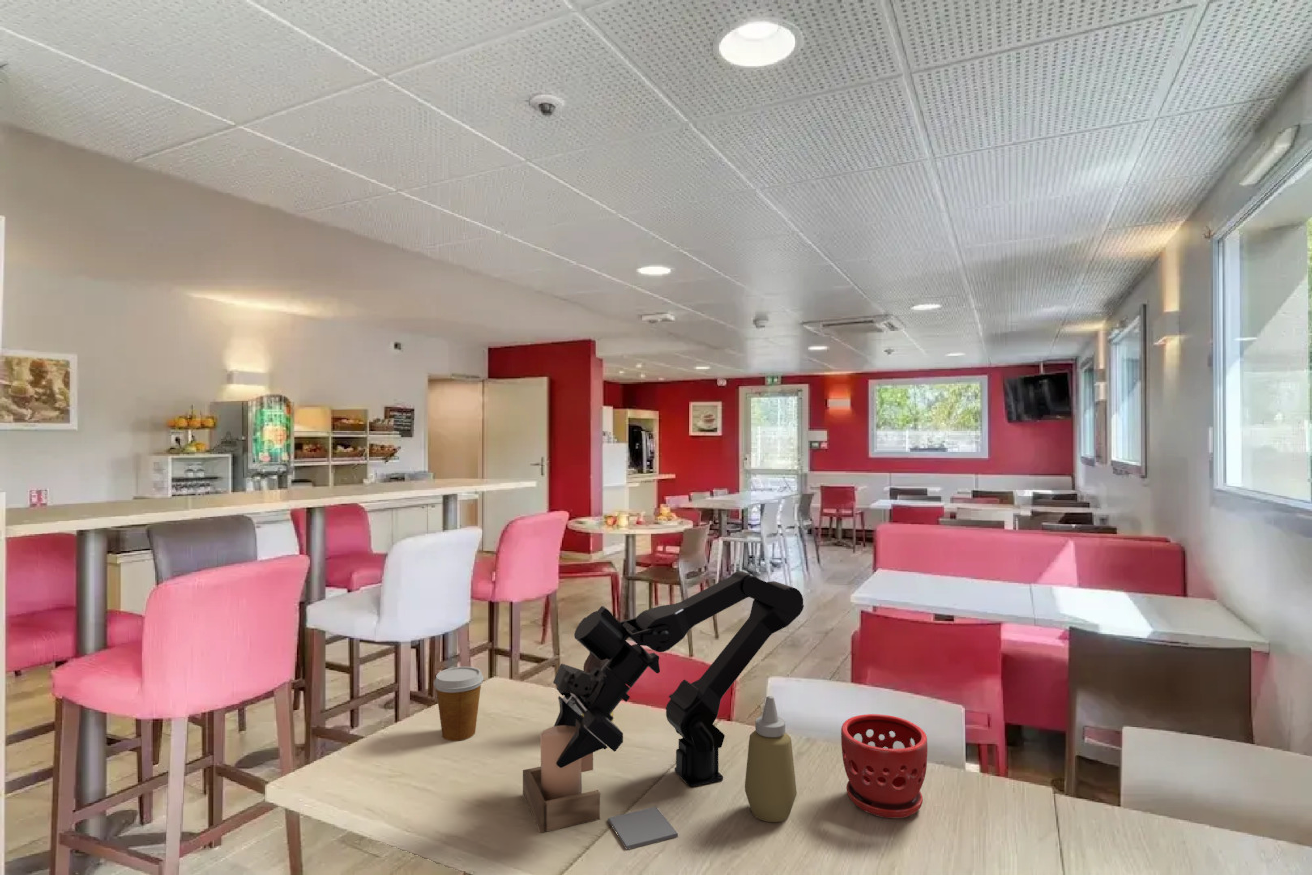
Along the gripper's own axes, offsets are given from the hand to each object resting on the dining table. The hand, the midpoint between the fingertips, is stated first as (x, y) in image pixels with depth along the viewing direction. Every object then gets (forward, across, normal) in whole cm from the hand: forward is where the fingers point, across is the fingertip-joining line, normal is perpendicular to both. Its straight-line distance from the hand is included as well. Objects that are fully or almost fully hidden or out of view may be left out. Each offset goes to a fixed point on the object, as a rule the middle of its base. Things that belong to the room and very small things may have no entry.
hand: (552, 756), depth 108 cm
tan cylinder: (+4, 0, +6) cm, 7 cm away
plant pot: (-28, +20, +41) cm, 53 cm away
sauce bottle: (-5, -25, +17) cm, 31 cm away
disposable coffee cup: (+13, -34, -1) cm, 36 cm away
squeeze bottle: (-16, +15, +28) cm, 35 cm away
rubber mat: (-2, +11, +13) cm, 17 cm away
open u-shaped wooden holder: (+5, 0, +7) cm, 8 cm away
